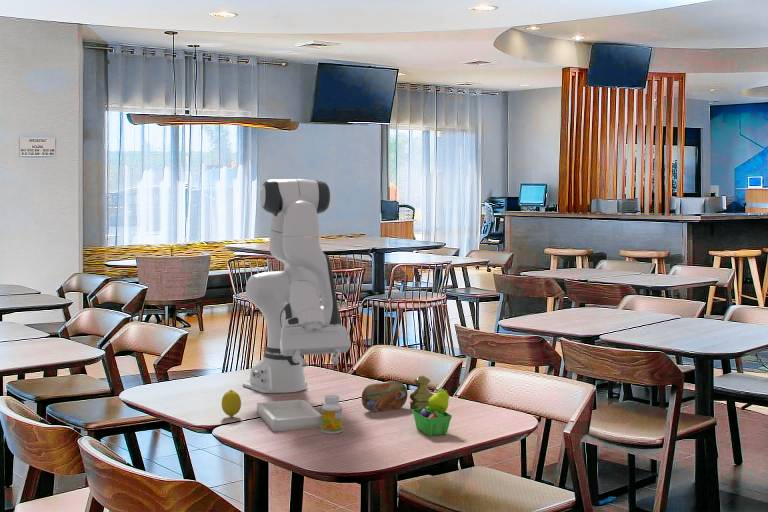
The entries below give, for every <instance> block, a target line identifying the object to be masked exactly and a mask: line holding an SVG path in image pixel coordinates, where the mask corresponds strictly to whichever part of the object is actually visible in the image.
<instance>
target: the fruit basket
mask: <svg viewBox="0 0 768 512" xmlns="http://www.w3.org/2000/svg"><path fill="white" fill-rule="evenodd" d="M449 400H450V395H449V393H448V390H446V389H444V388H439V389H438V390H437V392H436V393H435V394H434V395H433V396H432V397H430V398H429V405H430V407H424V408H423V409H413V410H411V413H412V414H413V418H414V422H415V426H416V429H418V430H420V431H422V432H423V433H424V434H427V435H428V436H430V437H431V436H439V435H447V434H448V430H449V426H450V423H451V420H452V417H453V415H452V414H450V413H448V412H447V410H448V408H449Z"/></svg>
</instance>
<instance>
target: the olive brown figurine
mask: <svg viewBox="0 0 768 512" xmlns="http://www.w3.org/2000/svg"><path fill="white" fill-rule="evenodd" d="M413 382H414V383H415V384H416V385H417V388H416V389H414V391H413V392H411V393H410V394H409V399H410V401H409V409H410V411H412V410H413V409H423V408H424V407H430V405H429V398H430V397H432V396H433V395H435V394H434V393H433V392H431V390H430V389H428V388H427V386H428V384H429V383H431V379H430V378H428V377H427V376H425V375H419V376H418V377H415V378H414V379H413Z"/></svg>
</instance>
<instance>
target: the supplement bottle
mask: <svg viewBox="0 0 768 512" xmlns="http://www.w3.org/2000/svg"><path fill="white" fill-rule="evenodd" d="M324 402H325V403H324V404H322V406H321V415H322V427H321V432H322V433H324V434H328V435H336V434H340V433H341V432H342V431H343V405H342V404H341V403H339V402H340V396H339V395H338V394H327V395H325V396H324Z"/></svg>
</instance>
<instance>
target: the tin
mask: <svg viewBox="0 0 768 512" xmlns="http://www.w3.org/2000/svg"><path fill="white" fill-rule="evenodd" d="M407 399H408V389H407V386H406V385H405V384H404V383H403V382H401V381H398V380H397V381H395V380H390V381H385V382H378V383H370V384H369V385H367V386H365V388H364V389H363V391H362V392H361V403H362V406H363V408H364V409H365V410H367V411H369V412H371V413H376V412H377V413H382V412H387V411H388V412H389V411H395V410H399V409H402V407H403V406H404V405H405V404H406V403H407ZM377 413H376V414H377Z"/></svg>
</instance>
